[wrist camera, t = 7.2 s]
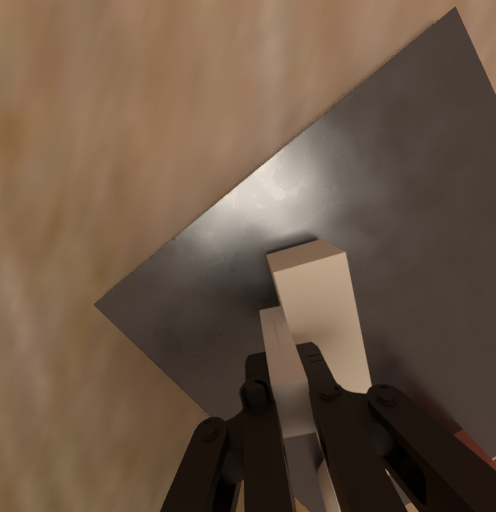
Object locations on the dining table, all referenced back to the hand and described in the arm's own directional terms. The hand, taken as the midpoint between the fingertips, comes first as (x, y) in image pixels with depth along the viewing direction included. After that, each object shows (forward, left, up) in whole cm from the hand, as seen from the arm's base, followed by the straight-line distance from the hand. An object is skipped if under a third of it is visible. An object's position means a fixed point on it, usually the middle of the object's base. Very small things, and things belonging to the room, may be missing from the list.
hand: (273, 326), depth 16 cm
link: (0, -9, -2) cm, 9 cm away
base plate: (+5, -8, -4) cm, 11 cm away
